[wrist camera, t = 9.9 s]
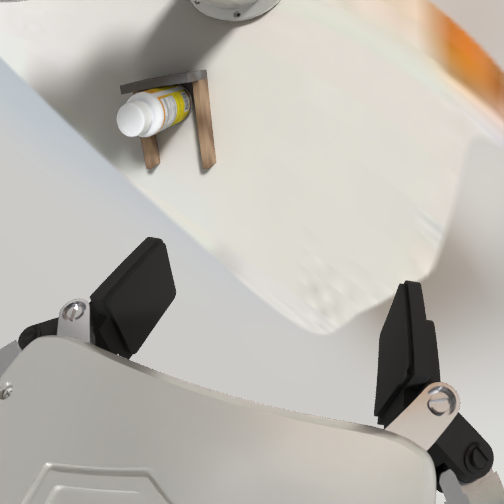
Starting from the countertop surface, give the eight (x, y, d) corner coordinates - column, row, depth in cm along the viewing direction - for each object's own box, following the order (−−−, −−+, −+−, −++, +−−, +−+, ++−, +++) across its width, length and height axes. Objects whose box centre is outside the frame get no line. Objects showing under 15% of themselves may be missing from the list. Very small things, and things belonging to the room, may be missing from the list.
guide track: (216, 162, 40) (200, 175, 36) (155, 162, 43) (136, 175, 39) (206, 69, 33) (187, 72, 29) (142, 80, 36) (120, 85, 32)
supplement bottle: (152, 104, 38) (103, 123, 30) (173, 75, 34) (124, 86, 26) (179, 129, 39) (134, 153, 31) (202, 101, 36) (158, 117, 28)
